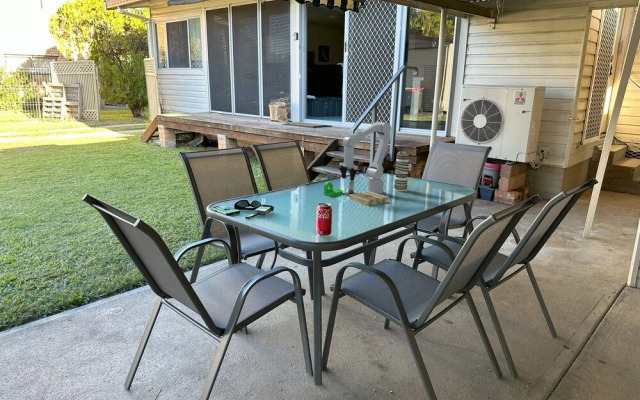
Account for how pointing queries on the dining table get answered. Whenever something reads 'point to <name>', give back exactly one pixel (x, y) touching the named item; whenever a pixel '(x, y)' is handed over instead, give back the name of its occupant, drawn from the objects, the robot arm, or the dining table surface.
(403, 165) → the grey striped cylinder
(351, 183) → the pin
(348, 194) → the mat
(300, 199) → the dining table surface
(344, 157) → the robot arm
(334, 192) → the mechanical part
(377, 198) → the socket block
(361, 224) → the dining table surface
